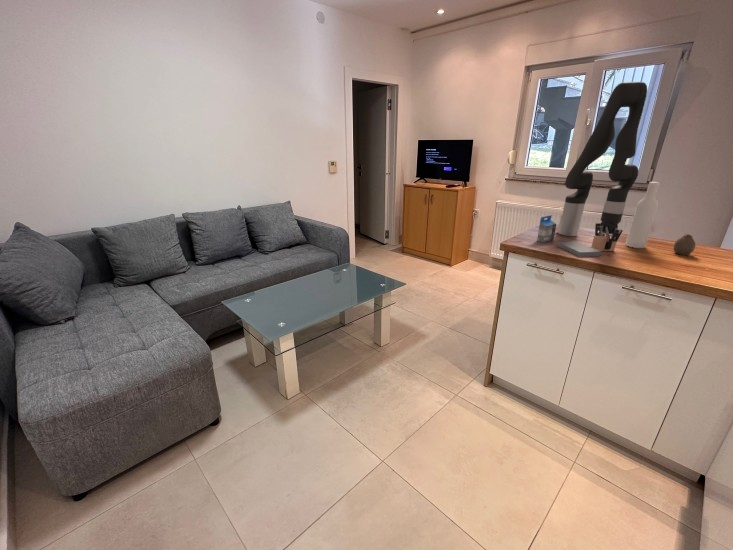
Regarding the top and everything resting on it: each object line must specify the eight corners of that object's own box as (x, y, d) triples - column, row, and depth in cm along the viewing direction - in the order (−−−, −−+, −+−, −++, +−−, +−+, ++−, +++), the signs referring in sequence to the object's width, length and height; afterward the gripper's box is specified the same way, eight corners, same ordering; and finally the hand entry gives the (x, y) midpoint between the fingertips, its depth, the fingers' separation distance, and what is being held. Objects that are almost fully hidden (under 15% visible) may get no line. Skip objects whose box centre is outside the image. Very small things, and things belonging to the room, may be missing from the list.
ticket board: (556, 245, 162) (557, 241, 161) (576, 245, 163) (577, 241, 162) (578, 256, 147) (580, 252, 146) (600, 255, 148) (601, 251, 147)
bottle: (623, 243, 166) (641, 180, 155) (642, 244, 163) (662, 181, 152) (626, 247, 159) (646, 182, 148) (647, 249, 156) (668, 183, 145)
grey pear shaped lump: (675, 255, 148) (682, 236, 145) (668, 250, 154) (675, 232, 151) (695, 257, 146) (702, 237, 142) (687, 252, 152) (694, 233, 148)
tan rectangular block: (590, 248, 158) (594, 236, 155) (606, 247, 158) (610, 235, 156) (597, 251, 153) (601, 238, 151) (614, 250, 154) (617, 238, 152)
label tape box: (543, 242, 168) (548, 218, 163) (536, 240, 171) (540, 216, 166) (553, 240, 172) (558, 216, 167) (546, 238, 175) (551, 215, 170)
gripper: (593, 208, 155) (584, 243, 162) (617, 214, 142) (606, 252, 149) (608, 208, 156) (599, 243, 162) (633, 214, 143) (622, 252, 149)
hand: (603, 247), depth 155 cm, fingers closed on tan rectangular block, 4 cm apart
